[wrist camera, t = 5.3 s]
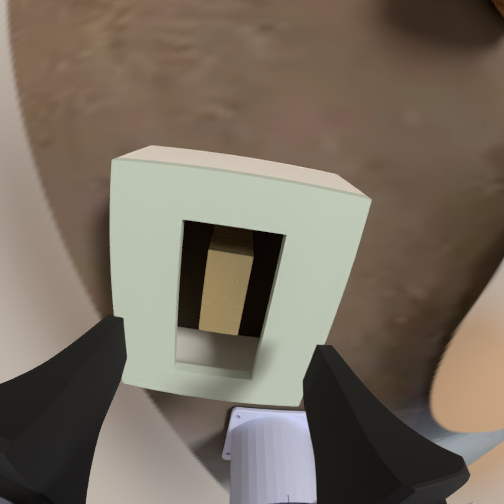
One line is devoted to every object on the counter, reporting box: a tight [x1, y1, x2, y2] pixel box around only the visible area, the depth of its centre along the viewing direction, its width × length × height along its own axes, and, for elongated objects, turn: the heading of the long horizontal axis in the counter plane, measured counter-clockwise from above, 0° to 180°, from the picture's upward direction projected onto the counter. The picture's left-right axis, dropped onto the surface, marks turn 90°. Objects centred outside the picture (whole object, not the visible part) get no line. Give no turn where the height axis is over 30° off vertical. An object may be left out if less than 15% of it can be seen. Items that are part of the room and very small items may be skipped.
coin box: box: [110, 145, 371, 406], centre depth 16 cm, size 12×10×5 cm
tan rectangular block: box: [199, 224, 254, 336], centre depth 17 cm, size 4×2×4 cm, turn 170°
